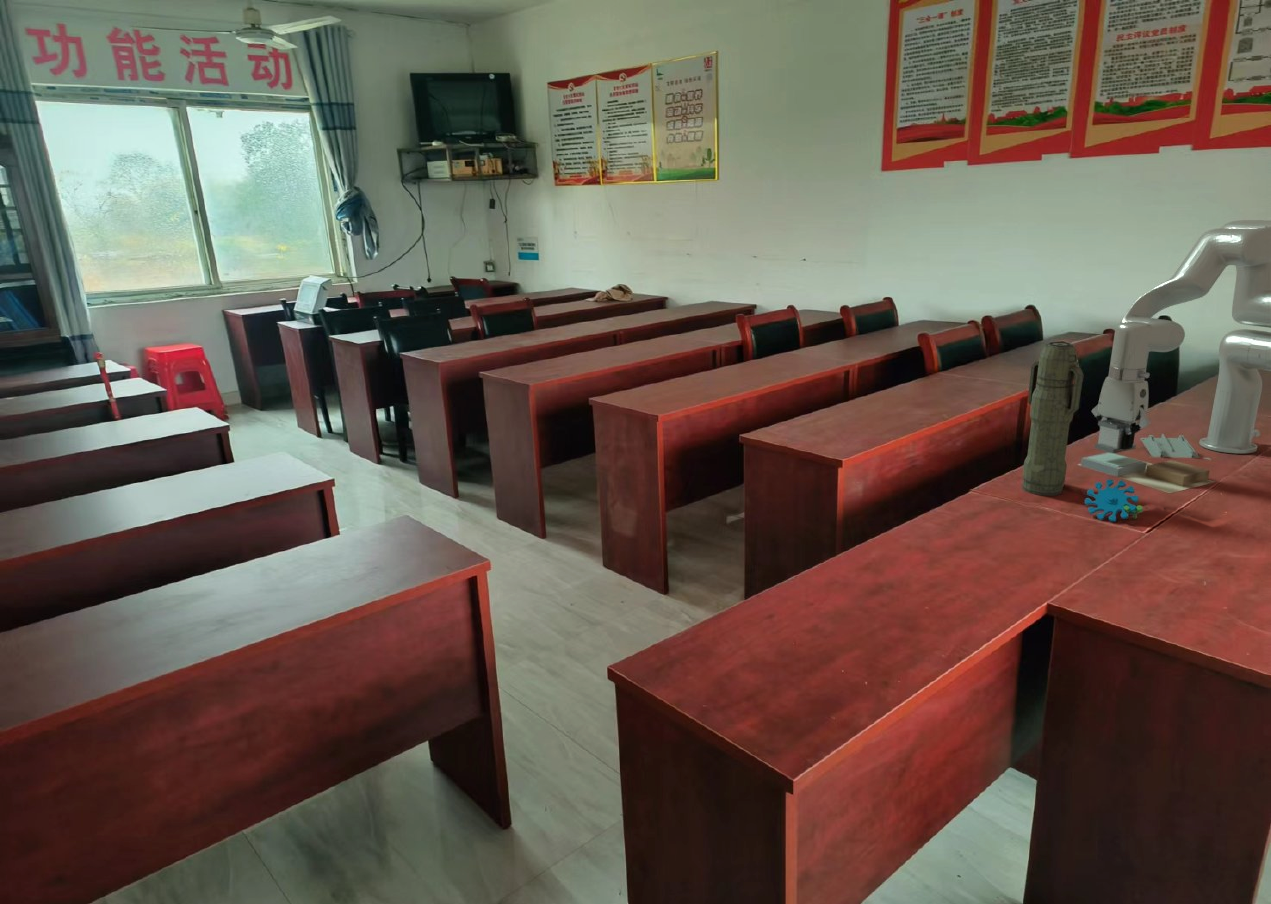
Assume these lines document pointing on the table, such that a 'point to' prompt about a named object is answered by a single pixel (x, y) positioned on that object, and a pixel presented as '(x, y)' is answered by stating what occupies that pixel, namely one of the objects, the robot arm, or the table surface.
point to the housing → (1112, 436)
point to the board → (1157, 481)
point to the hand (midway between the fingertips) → (1115, 445)
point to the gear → (1113, 501)
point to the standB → (1113, 464)
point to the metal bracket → (1169, 447)
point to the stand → (1177, 473)
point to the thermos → (1051, 417)
